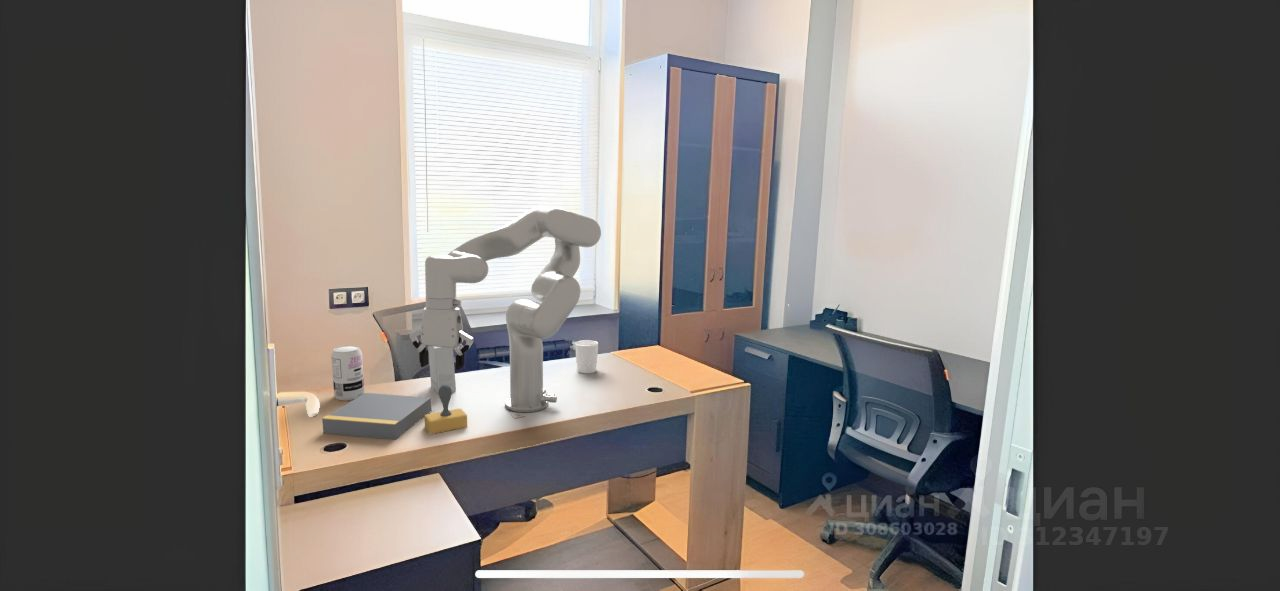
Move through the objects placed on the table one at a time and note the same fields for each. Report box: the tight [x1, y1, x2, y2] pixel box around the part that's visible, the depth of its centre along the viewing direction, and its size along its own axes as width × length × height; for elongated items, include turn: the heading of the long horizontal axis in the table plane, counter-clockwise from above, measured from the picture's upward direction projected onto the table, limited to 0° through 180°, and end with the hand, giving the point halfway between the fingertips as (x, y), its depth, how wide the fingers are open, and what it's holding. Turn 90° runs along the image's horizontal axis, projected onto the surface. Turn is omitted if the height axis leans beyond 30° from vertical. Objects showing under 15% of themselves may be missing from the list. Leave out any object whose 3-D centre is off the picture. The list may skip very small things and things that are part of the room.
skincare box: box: [427, 346, 457, 395], centre depth 198 cm, size 8×6×15 cm
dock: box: [321, 392, 433, 440], centre depth 172 cm, size 20×20×4 cm
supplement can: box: [330, 345, 365, 402], centre depth 189 cm, size 8×8×15 cm
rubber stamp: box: [423, 385, 468, 435], centre depth 169 cm, size 10×6×12 cm, turn 123°
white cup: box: [574, 339, 599, 374], centre depth 221 cm, size 8×8×10 cm
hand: (442, 367), depth 167 cm, fingers open, 9 cm apart
